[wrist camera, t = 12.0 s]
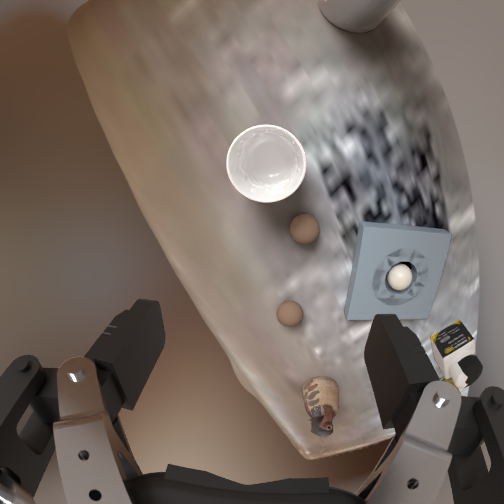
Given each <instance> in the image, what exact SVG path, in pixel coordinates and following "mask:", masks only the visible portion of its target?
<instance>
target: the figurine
mask: <svg viewBox="0 0 504 504" xmlns="http://www.w3.org/2000/svg"><path fill="white" fill-rule="evenodd" d="M302 395H303V399H304V403H305V408H306V411H307V413H308V415H309V416H310V417H311V418H312V419H310V420H308V421H309V423H311V426H312V429H311V432H312V433H313V434H316V435H318V436H320V437H326V436H328V435H330V434H331V433H333V425H332V419H333V417H334V416H335V415H336V414H337V411H338V403H339V390H338V386H337V384H336V382H335V381H334V380H333V379H332V378H329V377H316V378H312V379H310V380H309V381H307V382H306V383H305V384H304V385H303V389H302Z"/></svg>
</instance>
